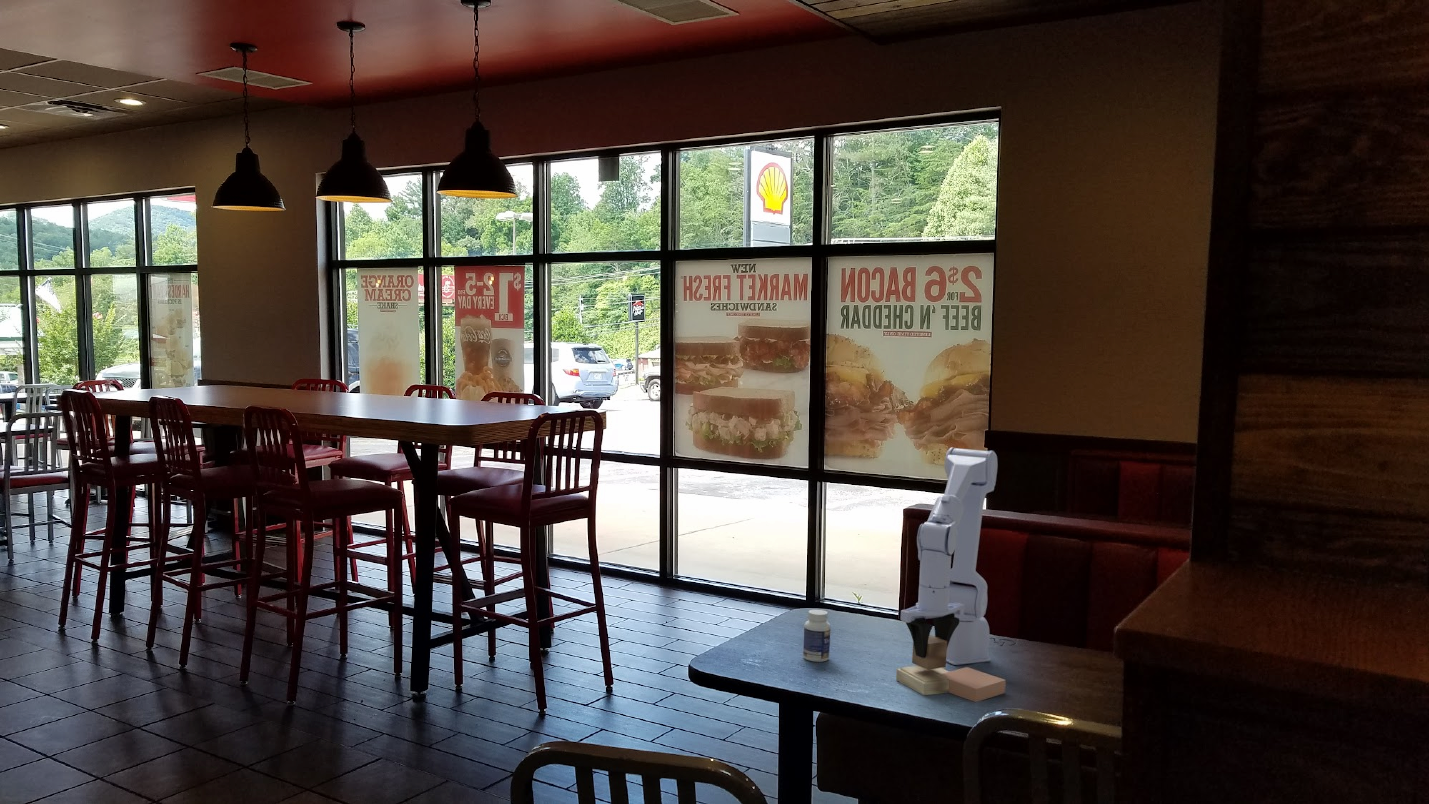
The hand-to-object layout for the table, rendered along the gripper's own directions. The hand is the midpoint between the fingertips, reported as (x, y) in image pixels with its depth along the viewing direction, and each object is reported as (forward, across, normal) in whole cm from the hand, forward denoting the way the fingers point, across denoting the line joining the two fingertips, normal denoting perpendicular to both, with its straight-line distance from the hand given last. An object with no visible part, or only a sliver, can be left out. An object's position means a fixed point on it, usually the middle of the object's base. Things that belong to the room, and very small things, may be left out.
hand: (930, 654), depth 194 cm
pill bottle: (+6, +10, -22) cm, 25 cm away
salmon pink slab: (+6, -5, +6) cm, 10 cm away
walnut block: (+2, 0, 0) cm, 2 cm away
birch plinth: (+6, 0, 0) cm, 6 cm away
